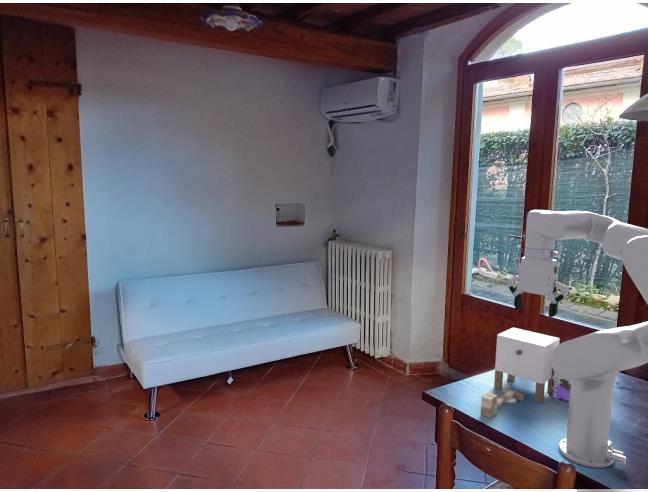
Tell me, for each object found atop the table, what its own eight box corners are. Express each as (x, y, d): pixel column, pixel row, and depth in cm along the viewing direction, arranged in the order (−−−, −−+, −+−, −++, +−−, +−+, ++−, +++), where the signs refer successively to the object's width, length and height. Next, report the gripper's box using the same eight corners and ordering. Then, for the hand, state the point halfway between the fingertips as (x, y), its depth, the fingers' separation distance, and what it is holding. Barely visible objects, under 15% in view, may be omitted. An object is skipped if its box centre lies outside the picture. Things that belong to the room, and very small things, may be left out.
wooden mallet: (494, 420, 144) (495, 401, 143) (476, 413, 148) (477, 394, 147) (523, 399, 157) (524, 382, 157) (505, 394, 162) (506, 376, 161)
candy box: (550, 397, 159) (553, 349, 157) (556, 391, 164) (559, 345, 161) (596, 411, 150) (601, 360, 148) (601, 405, 154) (606, 355, 152)
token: (514, 397, 159) (514, 393, 159) (518, 404, 154) (518, 400, 154) (499, 396, 160) (499, 393, 160) (501, 404, 155) (502, 400, 155)
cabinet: (555, 392, 163) (559, 338, 161) (539, 404, 154) (544, 347, 152) (509, 378, 175) (513, 327, 172) (492, 388, 166) (495, 335, 163)
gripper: (576, 256, 133) (571, 316, 135) (515, 249, 145) (511, 304, 147) (566, 259, 128) (561, 321, 130) (503, 251, 140) (500, 309, 142)
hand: (534, 312), depth 139 cm, fingers open, 9 cm apart
